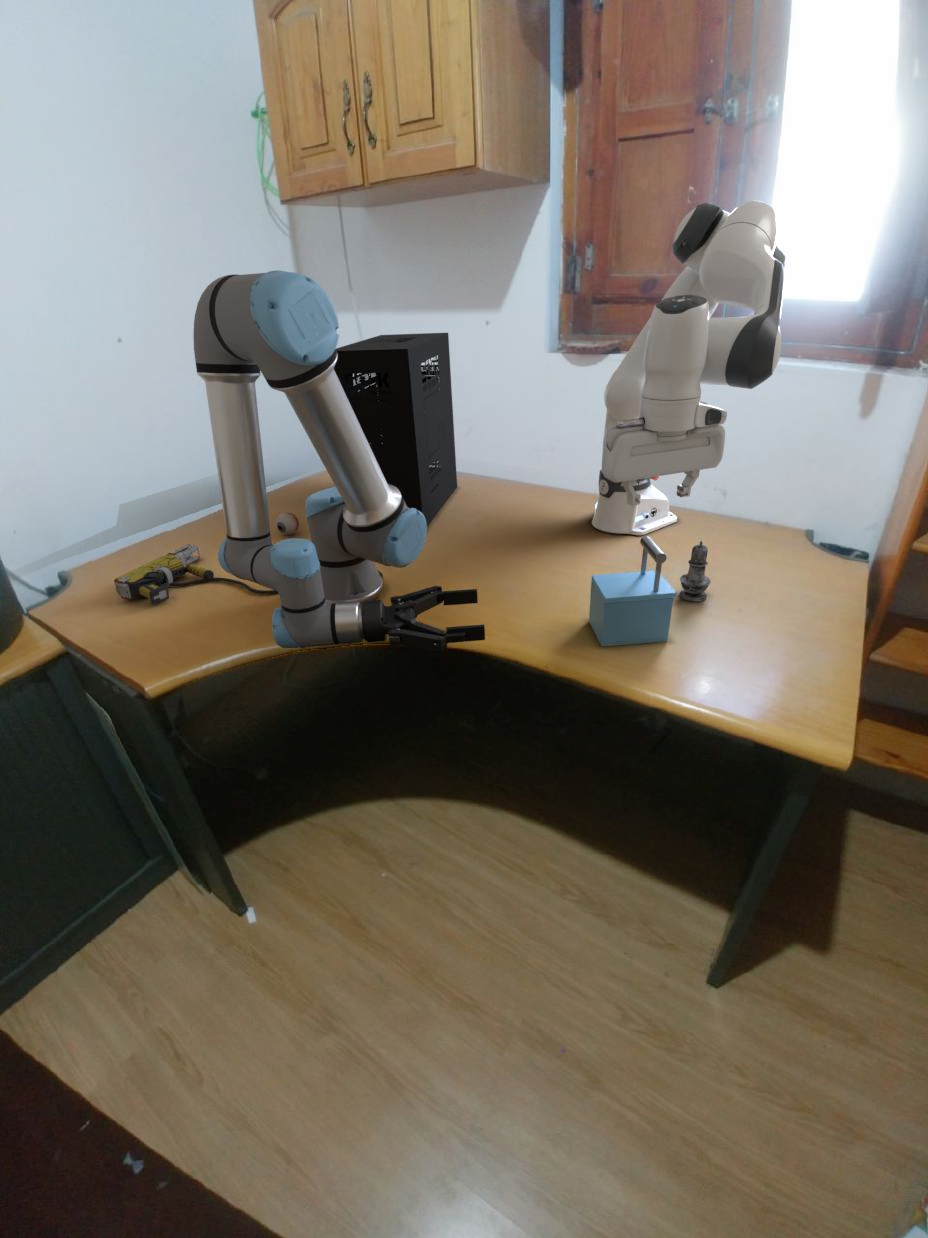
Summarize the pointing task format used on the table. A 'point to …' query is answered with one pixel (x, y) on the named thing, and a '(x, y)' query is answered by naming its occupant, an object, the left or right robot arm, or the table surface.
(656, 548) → the lid
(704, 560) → the dark grey turned figure
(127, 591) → the toy gun
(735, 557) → the table surface
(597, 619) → the chest
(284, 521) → the eyeball
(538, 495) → the table surface
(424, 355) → the dark boxy piece
